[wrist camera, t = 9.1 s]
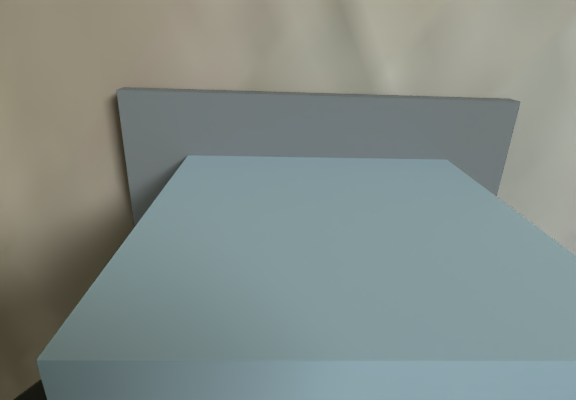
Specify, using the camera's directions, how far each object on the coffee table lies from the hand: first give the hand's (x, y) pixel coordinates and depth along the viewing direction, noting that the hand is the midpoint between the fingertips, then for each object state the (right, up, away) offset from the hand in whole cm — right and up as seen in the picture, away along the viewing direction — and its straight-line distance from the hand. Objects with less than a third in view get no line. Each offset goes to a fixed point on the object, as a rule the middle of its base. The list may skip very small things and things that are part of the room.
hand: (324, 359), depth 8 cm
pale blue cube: (0, +1, +3) cm, 4 cm away
